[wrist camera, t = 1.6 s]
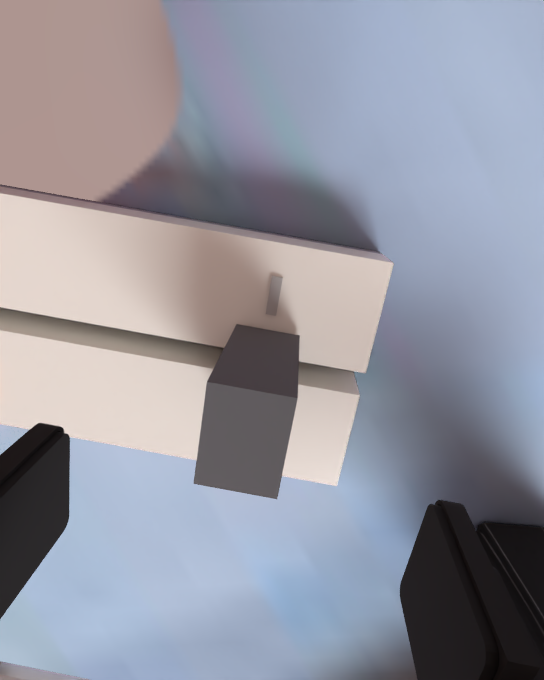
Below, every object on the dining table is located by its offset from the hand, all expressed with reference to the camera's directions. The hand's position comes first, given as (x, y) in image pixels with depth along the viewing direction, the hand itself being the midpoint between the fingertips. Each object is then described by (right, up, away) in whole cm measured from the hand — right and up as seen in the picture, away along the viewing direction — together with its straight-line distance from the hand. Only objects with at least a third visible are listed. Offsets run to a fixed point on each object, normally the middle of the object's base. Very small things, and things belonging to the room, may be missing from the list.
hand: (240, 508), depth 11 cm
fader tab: (+1, +4, +13) cm, 13 cm away
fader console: (-7, +6, +14) cm, 17 cm away
